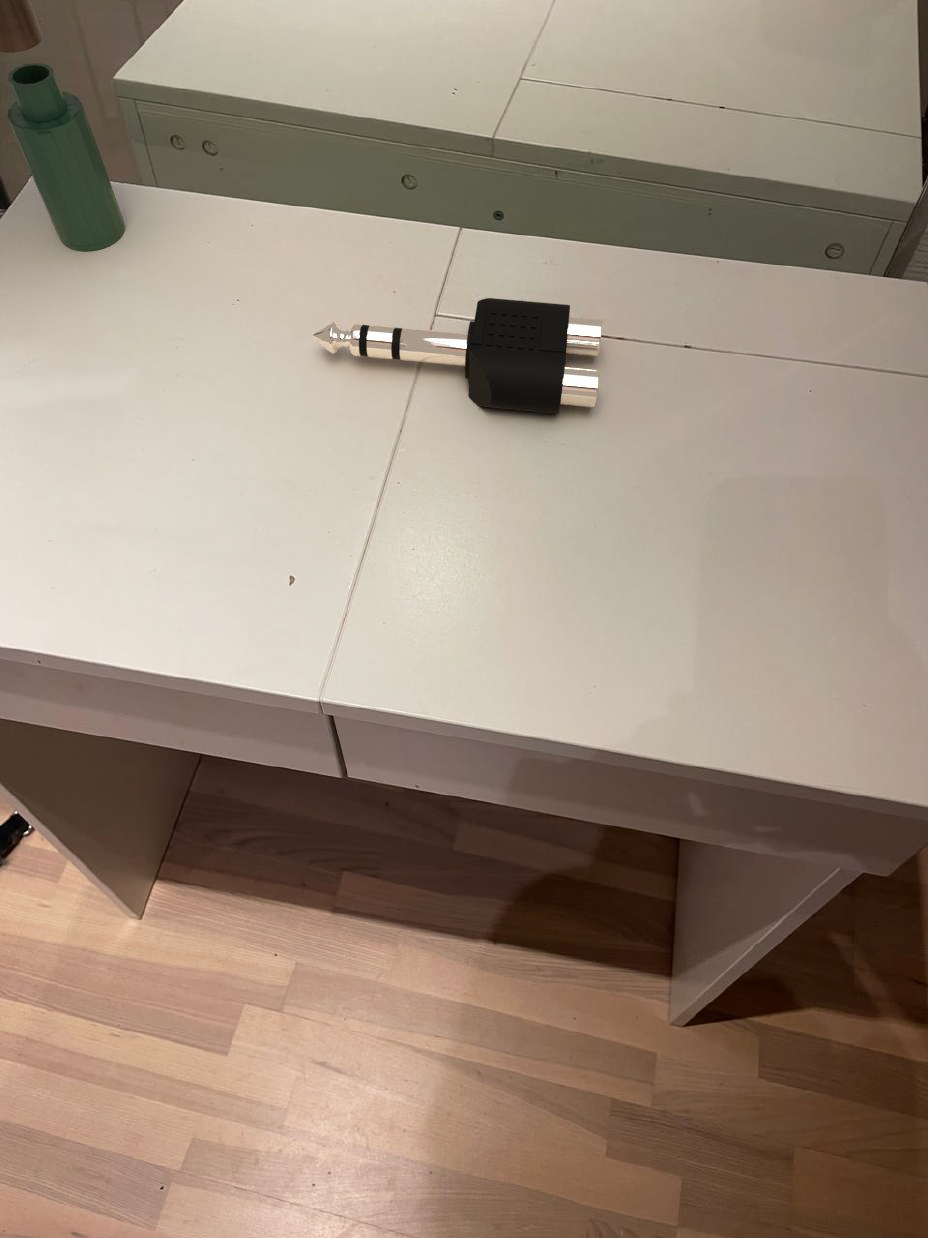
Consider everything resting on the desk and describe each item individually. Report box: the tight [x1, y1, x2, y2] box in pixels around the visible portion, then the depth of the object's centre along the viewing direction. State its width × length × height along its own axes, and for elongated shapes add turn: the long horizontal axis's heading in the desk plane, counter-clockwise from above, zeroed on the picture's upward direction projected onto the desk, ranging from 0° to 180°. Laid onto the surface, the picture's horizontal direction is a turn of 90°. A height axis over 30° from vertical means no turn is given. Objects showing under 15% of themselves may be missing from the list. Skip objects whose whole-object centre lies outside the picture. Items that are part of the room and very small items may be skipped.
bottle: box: [6, 62, 126, 252], centre depth 81 cm, size 6×6×15 cm
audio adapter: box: [312, 297, 603, 415], centre depth 76 cm, size 11×5×25 cm
